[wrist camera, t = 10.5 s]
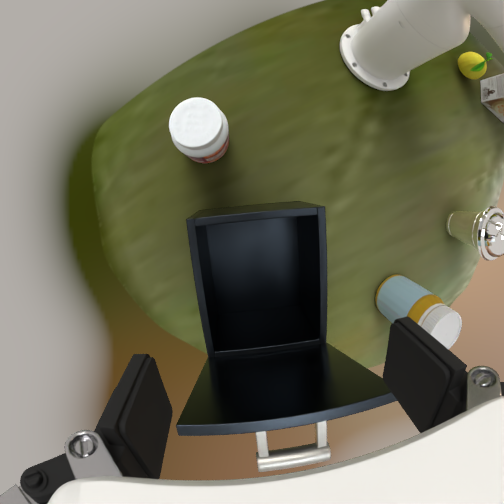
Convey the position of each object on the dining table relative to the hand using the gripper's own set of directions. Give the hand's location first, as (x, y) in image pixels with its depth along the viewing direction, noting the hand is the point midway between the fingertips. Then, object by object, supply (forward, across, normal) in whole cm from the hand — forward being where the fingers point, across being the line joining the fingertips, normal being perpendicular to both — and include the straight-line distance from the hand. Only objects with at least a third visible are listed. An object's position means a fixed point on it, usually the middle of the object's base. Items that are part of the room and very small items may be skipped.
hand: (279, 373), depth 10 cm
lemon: (+29, -46, -30) cm, 62 cm away
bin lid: (+10, -1, +8) cm, 13 cm away
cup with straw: (+29, -37, +1) cm, 47 cm away
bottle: (+29, -23, +12) cm, 39 cm away
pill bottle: (+29, +4, -14) cm, 32 cm away
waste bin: (+29, -1, +4) cm, 29 cm away
